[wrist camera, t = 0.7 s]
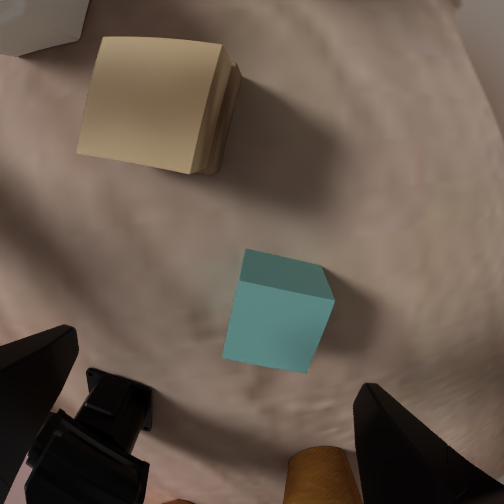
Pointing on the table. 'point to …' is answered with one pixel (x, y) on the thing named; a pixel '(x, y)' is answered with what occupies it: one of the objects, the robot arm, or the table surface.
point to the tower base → (223, 122)
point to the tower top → (154, 102)
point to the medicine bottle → (39, 24)
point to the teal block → (278, 312)
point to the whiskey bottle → (178, 502)
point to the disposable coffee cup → (321, 478)
